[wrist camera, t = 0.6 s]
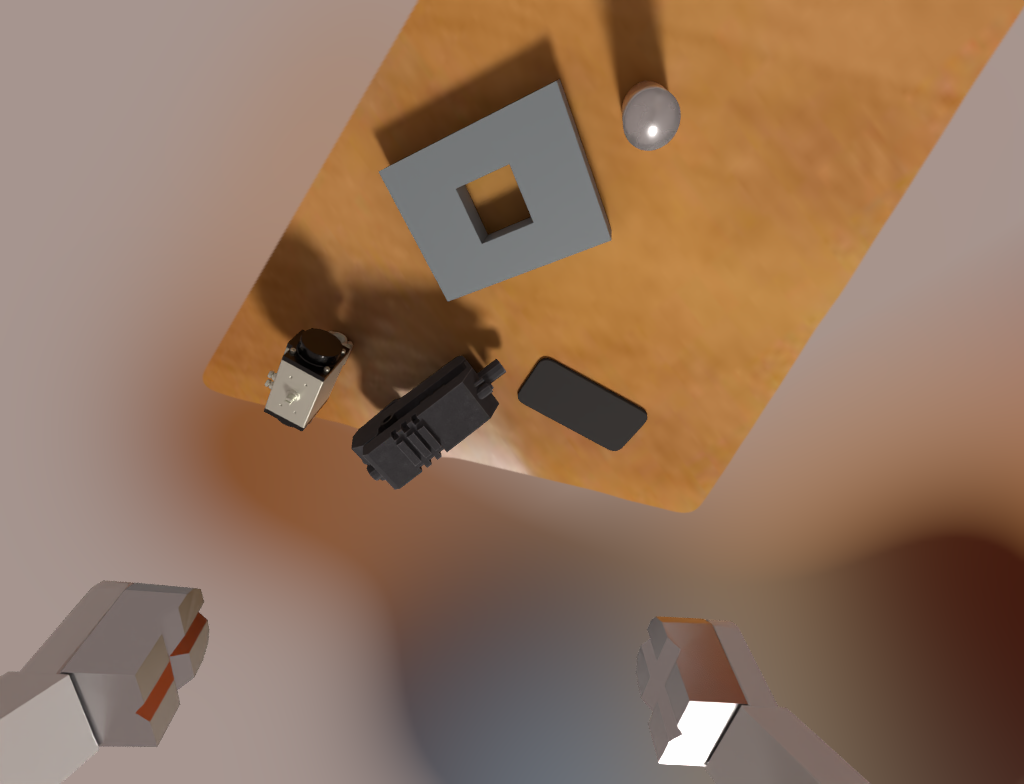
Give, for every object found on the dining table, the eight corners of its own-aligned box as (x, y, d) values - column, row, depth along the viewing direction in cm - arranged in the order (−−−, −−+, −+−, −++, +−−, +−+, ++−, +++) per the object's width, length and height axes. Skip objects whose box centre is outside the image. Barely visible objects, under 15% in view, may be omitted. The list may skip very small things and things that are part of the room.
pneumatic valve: (370, 321, 61) (323, 374, 51) (340, 387, 67) (293, 445, 58) (328, 296, 60) (272, 346, 50) (301, 366, 67) (247, 421, 57)
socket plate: (559, 78, 44) (556, 80, 42) (611, 230, 50) (611, 240, 48) (390, 165, 50) (378, 171, 48) (455, 290, 57) (447, 301, 54)
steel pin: (662, 71, 43) (672, 77, 35) (674, 121, 44) (686, 136, 37) (615, 94, 44) (615, 104, 37) (629, 141, 46) (632, 159, 38)
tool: (350, 417, 66) (347, 466, 52) (469, 328, 67) (496, 354, 53) (380, 449, 69) (385, 505, 55) (494, 364, 69) (527, 397, 56)
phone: (543, 355, 59) (651, 415, 61) (544, 352, 60) (651, 411, 62) (514, 399, 63) (616, 454, 65) (515, 395, 64) (616, 450, 66)
